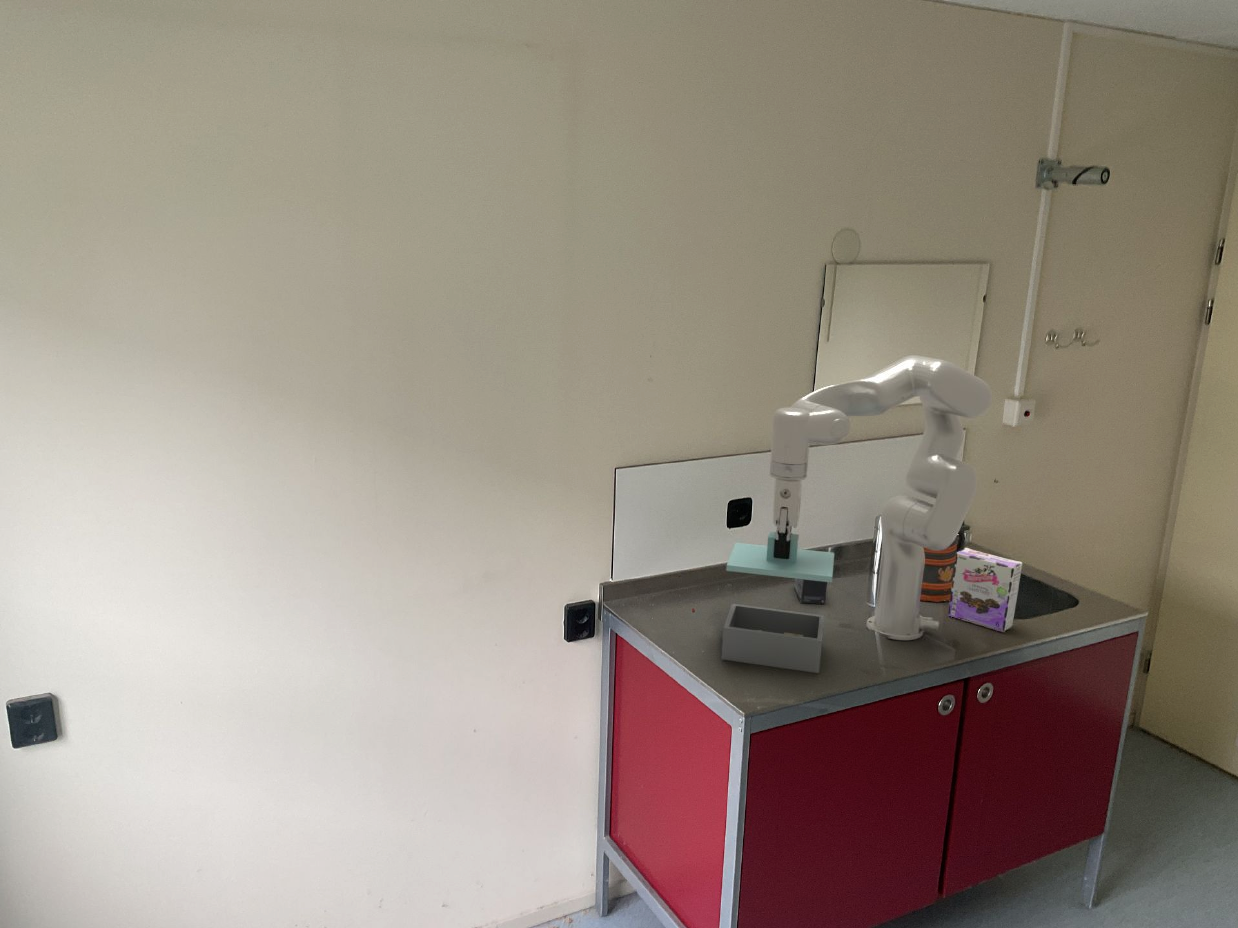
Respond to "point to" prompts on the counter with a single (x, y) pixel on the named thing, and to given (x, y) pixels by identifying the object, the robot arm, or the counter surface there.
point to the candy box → (984, 588)
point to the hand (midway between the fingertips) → (782, 553)
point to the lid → (782, 561)
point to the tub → (773, 638)
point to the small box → (810, 591)
